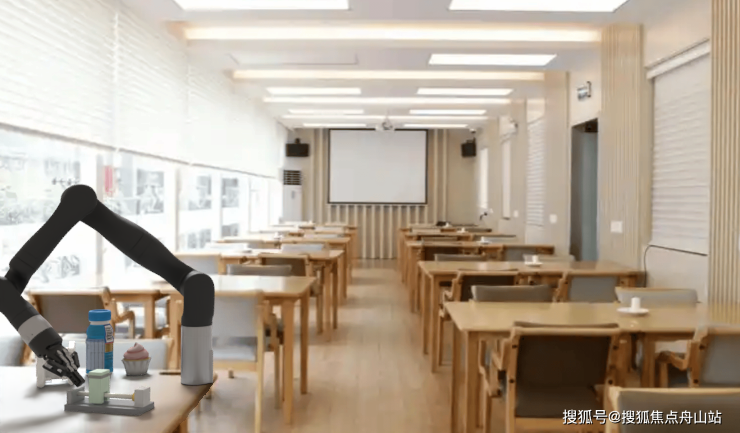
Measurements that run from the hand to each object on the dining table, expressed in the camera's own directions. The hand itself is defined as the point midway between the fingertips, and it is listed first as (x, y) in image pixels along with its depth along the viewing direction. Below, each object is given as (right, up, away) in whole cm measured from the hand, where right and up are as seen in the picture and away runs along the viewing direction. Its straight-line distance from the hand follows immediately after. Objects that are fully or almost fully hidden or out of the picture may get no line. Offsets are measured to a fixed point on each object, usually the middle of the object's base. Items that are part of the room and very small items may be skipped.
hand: (81, 384), depth 197 cm
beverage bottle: (-10, -6, +40) cm, 41 cm away
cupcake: (+2, -6, +40) cm, 41 cm away
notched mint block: (+5, -4, -1) cm, 7 cm away
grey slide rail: (+8, -6, -2) cm, 10 cm away
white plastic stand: (-18, -6, +26) cm, 32 cm away
